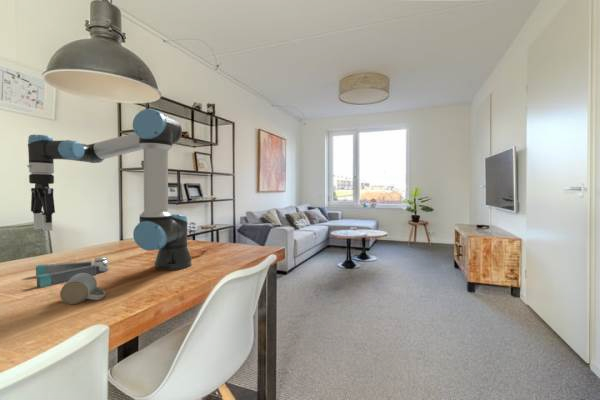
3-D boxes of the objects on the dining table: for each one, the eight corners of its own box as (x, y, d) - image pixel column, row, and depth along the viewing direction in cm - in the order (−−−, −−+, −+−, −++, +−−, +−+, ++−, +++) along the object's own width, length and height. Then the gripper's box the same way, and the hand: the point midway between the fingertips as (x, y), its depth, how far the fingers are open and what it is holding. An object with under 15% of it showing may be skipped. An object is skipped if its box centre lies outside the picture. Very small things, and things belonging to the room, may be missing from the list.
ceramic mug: (58, 307, 84) (58, 281, 84) (68, 297, 92) (68, 273, 91) (101, 303, 88) (101, 278, 88) (107, 293, 96) (108, 270, 95)
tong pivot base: (104, 269, 124) (103, 258, 123) (112, 271, 121) (111, 260, 120) (32, 284, 103) (32, 272, 103) (40, 287, 100) (39, 275, 100)
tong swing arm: (107, 268, 124) (107, 255, 124) (105, 271, 119) (105, 258, 119) (38, 274, 114) (38, 261, 114) (33, 278, 109) (32, 264, 109)
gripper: (19, 173, 119) (20, 229, 120) (41, 173, 109) (42, 233, 110) (42, 174, 126) (43, 227, 127) (64, 174, 116) (66, 230, 117)
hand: (43, 229), depth 118 cm, fingers open, 8 cm apart
